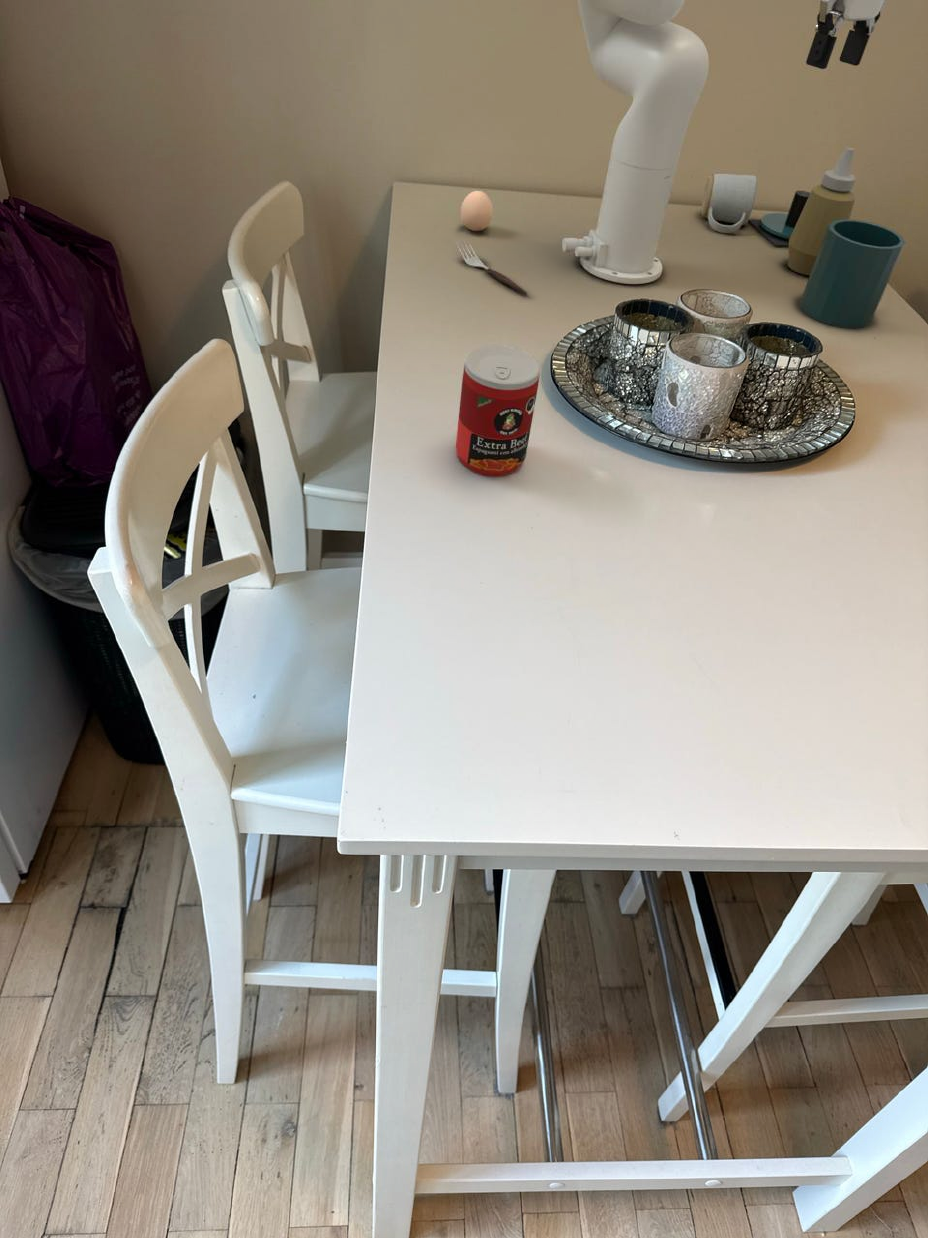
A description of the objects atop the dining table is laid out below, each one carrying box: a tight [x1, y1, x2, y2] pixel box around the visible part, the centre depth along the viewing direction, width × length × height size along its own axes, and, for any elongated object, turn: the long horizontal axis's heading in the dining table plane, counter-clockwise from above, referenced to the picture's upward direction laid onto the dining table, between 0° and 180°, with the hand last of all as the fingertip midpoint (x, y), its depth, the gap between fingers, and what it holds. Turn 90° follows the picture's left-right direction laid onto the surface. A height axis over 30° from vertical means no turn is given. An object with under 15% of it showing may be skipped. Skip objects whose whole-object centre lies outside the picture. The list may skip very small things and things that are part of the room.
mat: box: [747, 219, 789, 248], centre depth 153 cm, size 11×11×1 cm
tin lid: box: [760, 190, 811, 239], centre depth 151 cm, size 11×11×6 cm
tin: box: [799, 218, 906, 329], centre depth 127 cm, size 10×10×12 cm
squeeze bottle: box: [787, 146, 856, 276], centre depth 136 cm, size 8×8×18 cm
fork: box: [456, 240, 528, 295], centre depth 128 cm, size 3×16×2 cm, turn 36°
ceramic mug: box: [700, 173, 758, 234], centre depth 151 cm, size 11×8×8 cm
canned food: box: [455, 344, 541, 477], centre depth 91 cm, size 8×8×11 cm
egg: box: [460, 190, 494, 232], centre depth 139 cm, size 5×5×6 cm
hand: (832, 64), depth 131 cm, fingers open, 9 cm apart
